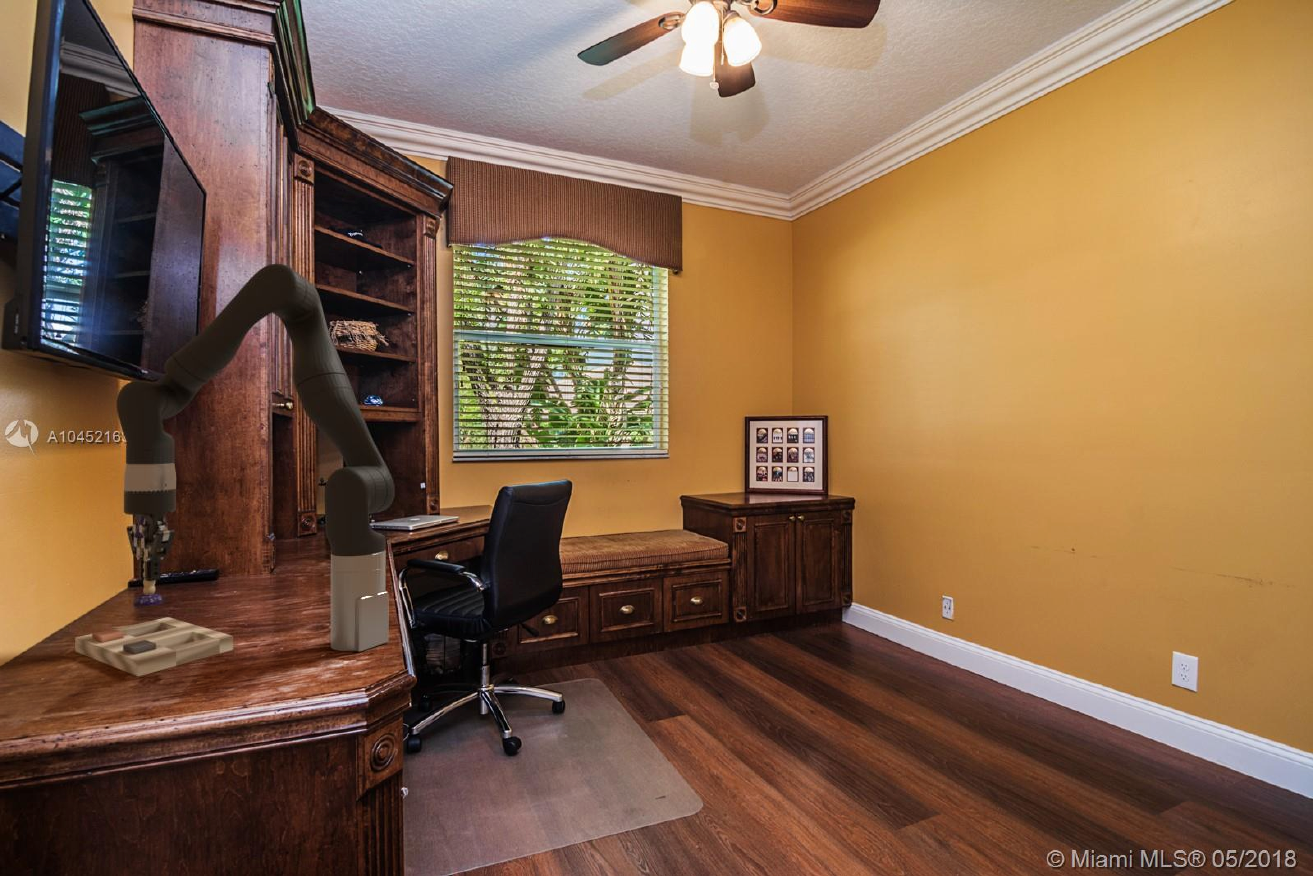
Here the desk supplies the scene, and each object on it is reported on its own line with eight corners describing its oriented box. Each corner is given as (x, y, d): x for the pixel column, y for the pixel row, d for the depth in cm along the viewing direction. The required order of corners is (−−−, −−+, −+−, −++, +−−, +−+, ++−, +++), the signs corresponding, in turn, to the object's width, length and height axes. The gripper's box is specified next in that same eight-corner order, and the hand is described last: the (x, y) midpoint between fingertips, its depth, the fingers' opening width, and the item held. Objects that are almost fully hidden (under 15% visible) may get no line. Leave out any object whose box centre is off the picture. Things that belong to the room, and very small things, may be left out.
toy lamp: (127, 604, 112) (129, 515, 112) (157, 598, 116) (159, 512, 116) (140, 608, 110) (142, 518, 109) (170, 602, 114) (172, 515, 113)
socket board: (233, 649, 109) (233, 630, 109) (138, 676, 96) (138, 654, 96) (167, 629, 120) (167, 612, 120) (75, 651, 108) (75, 632, 108)
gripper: (192, 487, 113) (191, 579, 113) (157, 484, 119) (156, 571, 119) (143, 490, 106) (142, 588, 106) (108, 487, 113) (108, 579, 113)
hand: (149, 579), depth 113 cm, fingers closed on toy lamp
